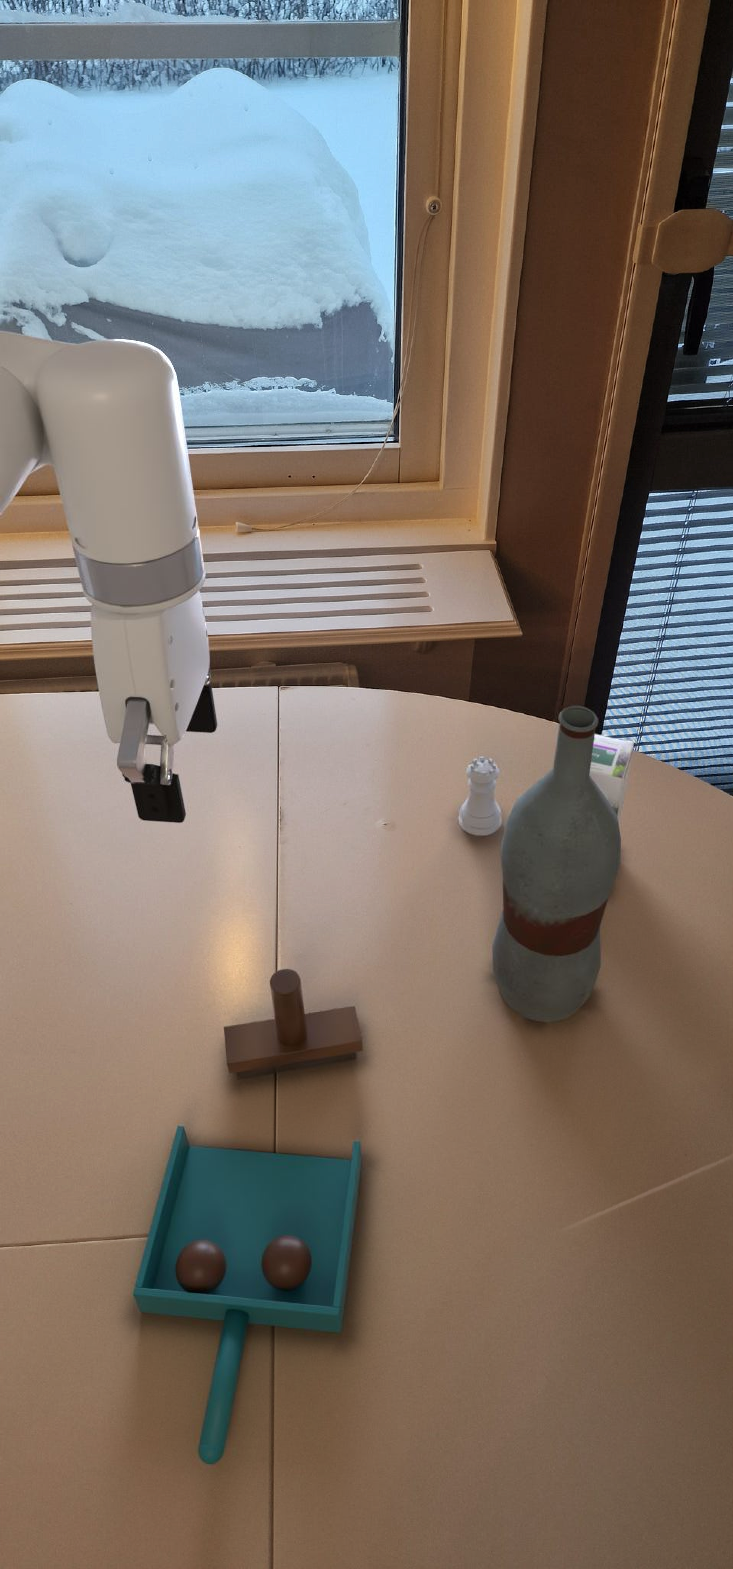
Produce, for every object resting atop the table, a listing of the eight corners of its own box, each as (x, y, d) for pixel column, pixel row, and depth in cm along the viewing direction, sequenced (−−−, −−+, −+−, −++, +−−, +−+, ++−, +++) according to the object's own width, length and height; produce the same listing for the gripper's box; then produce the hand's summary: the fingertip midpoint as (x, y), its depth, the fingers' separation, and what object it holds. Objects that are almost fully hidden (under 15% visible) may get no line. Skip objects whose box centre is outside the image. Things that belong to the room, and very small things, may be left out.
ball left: (163, 1266, 73) (207, 1245, 75) (184, 1312, 71) (229, 1290, 73) (171, 1243, 71) (216, 1222, 73) (194, 1290, 69) (239, 1267, 71)
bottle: (471, 961, 93) (488, 695, 73) (560, 930, 96) (600, 664, 76) (521, 1043, 87) (554, 775, 67) (615, 1007, 89) (674, 739, 69)
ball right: (316, 1280, 73) (273, 1306, 72) (292, 1235, 75) (249, 1260, 73) (324, 1264, 71) (279, 1291, 69) (299, 1218, 72) (255, 1243, 71)
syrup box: (544, 877, 101) (558, 764, 91) (559, 837, 105) (573, 725, 95) (602, 892, 99) (623, 779, 89) (615, 850, 103) (636, 738, 93)
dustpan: (183, 1145, 81) (177, 1125, 79) (361, 1161, 79) (360, 1140, 77) (103, 1458, 65) (92, 1443, 63) (323, 1484, 64) (320, 1469, 62)
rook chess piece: (461, 806, 109) (463, 747, 103) (503, 811, 108) (508, 752, 102) (455, 835, 105) (457, 777, 100) (499, 841, 105) (503, 782, 99)
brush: (231, 1084, 85) (215, 1011, 78) (227, 1047, 87) (212, 973, 81) (363, 1061, 86) (359, 987, 79) (356, 1025, 89) (351, 951, 82)
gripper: (121, 493, 70) (160, 697, 81) (31, 637, 57) (93, 854, 68) (230, 497, 69) (255, 701, 80) (164, 644, 56) (204, 862, 68)
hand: (180, 772), depth 74 cm, fingers open, 9 cm apart
